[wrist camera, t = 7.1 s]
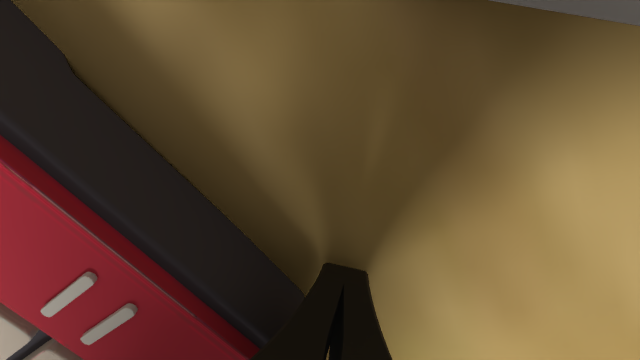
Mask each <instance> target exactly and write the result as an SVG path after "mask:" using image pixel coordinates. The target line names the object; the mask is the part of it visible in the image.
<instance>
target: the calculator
mask: <svg viewBox="0 0 640 360" xmlns="http://www.w3.org/2000/svg"><path fill="white" fill-rule="evenodd" d="M304 298H305V297H304V294H303V293H302V292H301V290H300V289H299V288H298V287H297V286H296V285H295V284H294V283H293V282H292V281H291V280H290V279H289V278H288V277H287V276H286V275H285V274H284V273H283V272H282V271H281V270H280V269H279V268H278V267H277V266H276V265H275V264H274V263H273V262H272V261H271V260H270V259H269V258H268V257H267V256H266V255H265V254H264V253H263V252H262V251H261V250H260V249H259V248H258V247H257V246H256V245H255V244H254V243H253V242H252V241H251V240H250V239H249V238H248V237H247V236H246V235H244V234H243V233H242V232H241V231H240V230H239V229H238V228H237V227H236V226H235V225H234V224H233V223H232V222H231V221H230V220H229V219H228V218H227V217H226V216H225V215H224V214H222V213H221V212H220V211H219V210H218V209H217V208H216V207H215V206H214V205H213V204H212V203H211V202H210V201H209V200H207V199H206V198H205V197H204V196H203V195H202V194H201V193H200V192H199V191H198V190H197V189H196V188H195V187H194V186H192V185H191V184H190V183H189V182H188V181H187V180H186V179H185V178H184V177H183V176H182V175H181V174H180V173H179V172H177V171H176V170H175V169H174V168H173V167H172V166H171V165H170V164H169V163H168V162H167V161H166V160H165V159H164V158H162V157H161V156H160V155H159V154H158V153H157V152H156V151H155V150H154V149H153V148H152V147H151V146H150V145H149V144H147V143H146V142H145V141H144V140H143V139H142V138H141V137H140V136H139V135H138V134H137V133H136V132H135V131H134V130H132V129H131V128H130V127H129V126H128V125H127V124H126V123H125V122H124V121H123V120H122V119H121V118H120V117H119V116H117V115H116V114H115V113H114V112H113V111H112V110H111V109H110V108H109V107H108V106H107V105H106V104H105V103H104V102H103V101H101V100H100V99H99V98H98V97H97V96H96V95H95V94H94V93H93V92H92V91H91V90H90V89H89V88H88V87H87V86H86V85H84V84H83V83H82V82H81V81H80V80H79V79H78V78H77V77H76V76H75V75H74V74H73V73H72V71H71V68H70V66H69V64H68V62H67V60H66V58H65V56H64V54H63V53H62V52H61V51H60V50H59V49H58V48H57V46H56V45H55V44H54V43H53V42H52V41H51V40H50V39H49V38H48V37H47V36H46V35H45V34H44V33H43V32H42V31H41V30H40V29H39V28H38V27H37V26H36V25H35V24H34V23H33V22H32V21H31V20H30V19H29V18H28V17H27V16H26V15H25V14H24V13H23V12H22V11H21V10H20V9H19V8H18V7H17V6H16V5H15V4H14V3H13V2H12V1H11V0H0V360H249V359H251V358H252V357H253V356H254V355H255V354H256V353H257V352H258V351H259V350H260V349H261V348H262V347H263V346H264V345H266V343H267V342H268V341H269V340H270V339H271V338H272V337H273V336H274V335H275V334H276V333H277V332H278V331H279V330H280V329H281V328H282V326H283V325H284V324H285V323H286V322H287V321H288V319H289V318H290V317H291V316H292V314H293V313H294V312H295V311H296V310H297V308H298V307H299V306H300V304H301V303H302V301H303V300H304Z"/></svg>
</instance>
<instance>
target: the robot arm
mask: <svg viewBox="0 0 640 360" xmlns="http://www.w3.org/2000/svg"><path fill="white" fill-rule="evenodd" d="M329 346H330V350H329V360H392V357H391V355H390V353H389V350H388V348H387V345H386V342H385V340H384V337H383V334H382V331H381V328H380V325H379V322H378V319H377V316H376V312H375V309H374V305H373V301H372V297H371V292H370V287H369V280H368V274H367V272H366V271H363V270H359V269H354V268H350V267H345V266H340V265H336V264H331V263H326V264H324V265H323V267H322V270H321V272H320V274H319V276H318V278H317V280H316V282H315V283H314V285H313V287H312V288H311V290H310V291H309V293H308V294H307V296H306V297H305V298H304V300H303V301H302V303H301V304H300V306H299V307H298V308H297V310H296V311H295V312H294V313H293V314H292V316H291V317H290V318H289V319H288V321H287V322H286V323H285V324H284V325H283V326H282V328H281V329H280V330H279V331H278V332H277V333H276V334H275V335H274V336H273V337H272V338H271V339H270V340H269V341H268V342H267V343H266V345H264V346H263V347H262V348H261V349H260V350H259V351H258V352H257V353H256V354H255V355H254V356H253V357H252V358H251V359H249V360H326V356H327V353H328V349H329Z"/></svg>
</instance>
